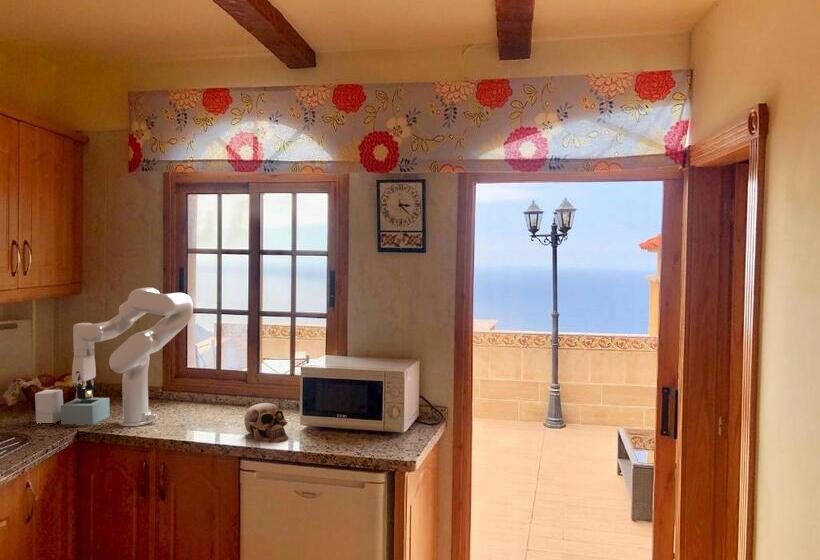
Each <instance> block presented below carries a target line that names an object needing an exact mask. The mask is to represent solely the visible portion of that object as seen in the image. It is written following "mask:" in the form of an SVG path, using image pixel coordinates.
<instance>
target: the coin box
mask: <svg viewBox="0 0 820 560" xmlns="http://www.w3.org/2000/svg"><path fill="white" fill-rule="evenodd" d="M110 412H111V411H110V397H92V398H90V399H84V400H81V399H78V398H76V399H73V400H71V401H68V402H65V403H63V405H61V421H60V423H61V424H88V425H87V426H94V425H97V424H98V423H100V422H102V421H104V420H106V419H108V418H110V417H109V416H110V415H111V413H110ZM107 417H108V418H107ZM103 419H104V420H103ZM101 420H102V421H101ZM99 421H100V422H99ZM61 424H60V425H61ZM93 424H94V425H93Z"/></svg>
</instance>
